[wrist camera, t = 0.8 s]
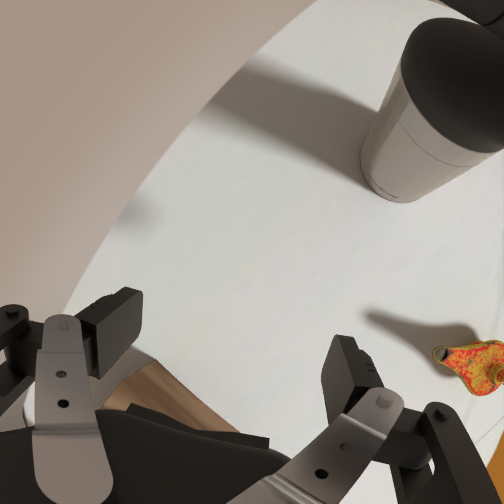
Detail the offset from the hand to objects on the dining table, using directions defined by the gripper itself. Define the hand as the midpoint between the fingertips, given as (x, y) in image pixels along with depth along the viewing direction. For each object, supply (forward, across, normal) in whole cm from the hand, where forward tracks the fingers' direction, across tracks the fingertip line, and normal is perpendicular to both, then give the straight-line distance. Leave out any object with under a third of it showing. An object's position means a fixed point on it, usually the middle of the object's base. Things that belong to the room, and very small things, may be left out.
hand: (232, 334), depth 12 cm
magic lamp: (+17, -28, +8) cm, 33 cm away
